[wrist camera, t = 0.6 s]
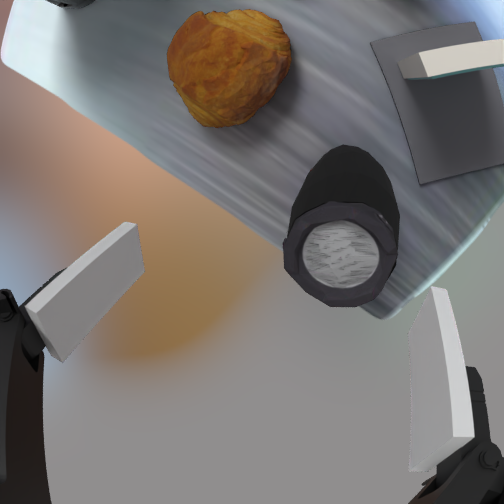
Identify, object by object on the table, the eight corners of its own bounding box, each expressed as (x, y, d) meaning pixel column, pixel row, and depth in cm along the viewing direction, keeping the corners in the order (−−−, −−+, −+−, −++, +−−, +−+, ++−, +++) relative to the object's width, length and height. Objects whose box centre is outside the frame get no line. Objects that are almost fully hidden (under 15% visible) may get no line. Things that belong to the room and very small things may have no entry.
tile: (397, 62, 26) (418, 52, 17) (471, 47, 22) (518, 37, 12) (404, 80, 27) (429, 80, 17) (478, 65, 22) (527, 63, 13)
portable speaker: (297, 176, 38) (247, 260, 22) (349, 124, 32) (345, 166, 16) (346, 223, 39) (331, 332, 23) (399, 176, 33) (433, 264, 18)
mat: (369, 43, 26) (370, 42, 26) (473, 22, 20) (474, 21, 20) (419, 183, 33) (419, 184, 33) (512, 160, 27) (514, 161, 26)
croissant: (317, 57, 31) (318, 45, 24) (233, 145, 38) (214, 154, 31) (229, -8, 29) (210, -29, 22) (155, 79, 36) (122, 77, 29)
